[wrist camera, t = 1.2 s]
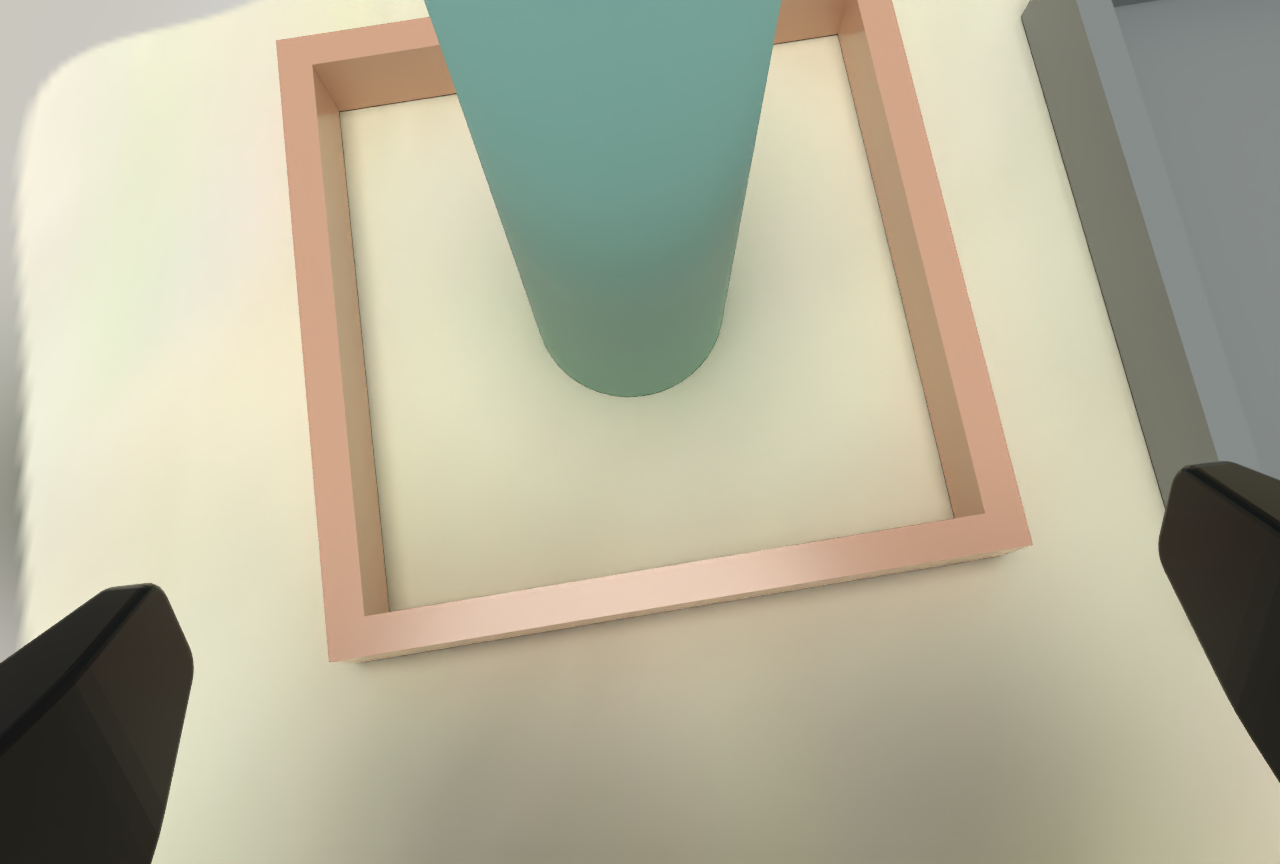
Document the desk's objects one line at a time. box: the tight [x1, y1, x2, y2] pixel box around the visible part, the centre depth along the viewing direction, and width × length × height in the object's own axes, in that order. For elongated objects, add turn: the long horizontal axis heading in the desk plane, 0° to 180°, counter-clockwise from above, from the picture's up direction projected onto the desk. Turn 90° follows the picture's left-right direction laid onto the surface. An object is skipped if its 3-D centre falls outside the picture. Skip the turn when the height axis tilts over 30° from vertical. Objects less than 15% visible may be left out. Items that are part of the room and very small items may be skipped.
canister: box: [424, 0, 781, 397], centre depth 17 cm, size 4×4×14 cm
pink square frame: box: [276, 0, 1033, 663], centre depth 23 cm, size 15×15×2 cm
